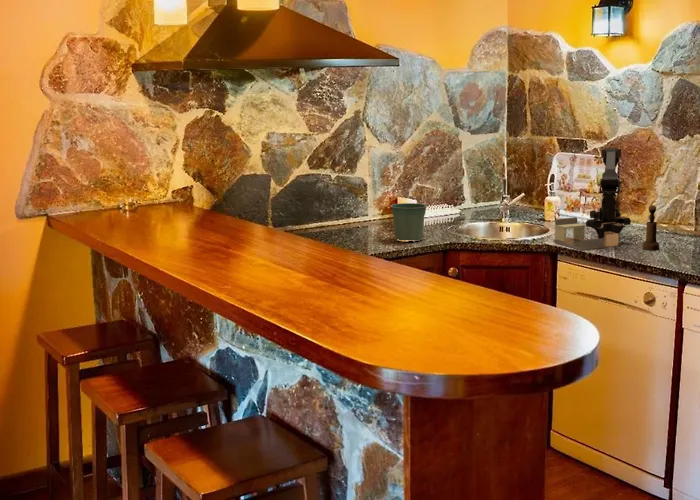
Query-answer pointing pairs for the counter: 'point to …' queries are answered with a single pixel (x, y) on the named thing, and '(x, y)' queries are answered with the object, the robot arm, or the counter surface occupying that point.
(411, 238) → the flower pot
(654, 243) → the brown pedestal figurine
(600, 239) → the housing base
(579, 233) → the cover
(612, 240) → the collar
